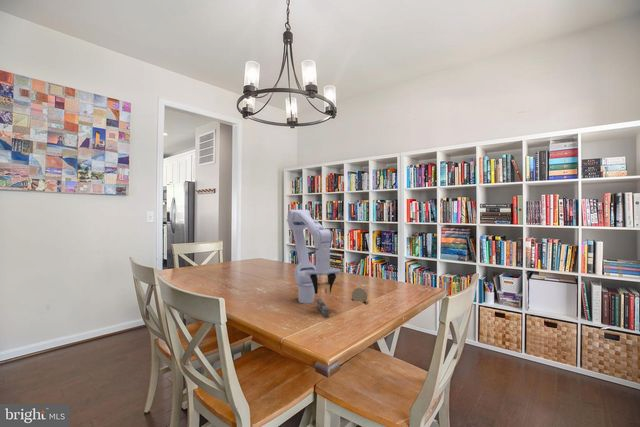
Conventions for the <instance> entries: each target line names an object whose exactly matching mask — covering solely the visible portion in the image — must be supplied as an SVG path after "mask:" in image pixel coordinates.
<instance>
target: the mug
mask: <svg viewBox="0 0 640 427" xmlns="http://www.w3.org/2000/svg"><path fill="white" fill-rule="evenodd" d="M351 299H352V300H353V301H354V302H361V303H362V304H364V303H365V302H366V301H367V299H368V291H366V289H365V288H362V287H356V288H354V289H353V291H352V292H351Z"/></svg>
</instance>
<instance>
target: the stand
mask: <svg viewBox="0 0 640 427" xmlns="http://www.w3.org/2000/svg"><path fill="white" fill-rule="evenodd" d="M316 300H317V301H316V306H317V308H318V309H319V311H320V312H321V314H322V316H323V318H324V319H330V310H329V308H328V306H327V305H326V304H325V303H324V302H323V300H322V299H321V298H317V299H316Z"/></svg>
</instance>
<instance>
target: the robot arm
mask: <svg viewBox="0 0 640 427" xmlns="http://www.w3.org/2000/svg"><path fill="white" fill-rule="evenodd" d="M286 217H287V223H288V228H289V229H290V230H291V231H292V235H293V240H294V245H295V250H296V256H297V261H298V264H297V265H296V266H295V268H294V270H293V271H294V275H293V276H294V277H293V278H294V282H295V283H296V285H297V286H298V292H297V293H298V294H297V298H298V303H301V304H312V303H314V302H315V294H316V295H317V291H318V290H317V283H319V282H318V281H319V276H324V275H325V276H327V282H328V283H329V284H330V294H331V293H332V288H333V285H334V283H335V280H336V279H337V275H341V273H342V272H341V271H342V270H341V269H340V268H331V266H330V265H331V260H330V258H331V255H330V254H331V250H330V249H331V243H332V242H333V237H334V235H333V232H332V230H331V229H330V228H325V227H324V226H323V225H322V224H321V223H320V222H319V221H318V220H314V219H313V218H312V216H311V211H310V210H309V209H291V208H290V209H289V210H288V211H287V216H286ZM305 229H307V231H308V232H309V234H310V235H311V236H312V240H313V246H314V248H315V264H314V263H312V262H311V261H310V258H309V254H308V247H307V243H306V238H305V234H304V230H305Z"/></svg>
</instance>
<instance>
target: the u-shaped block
mask: <svg viewBox="0 0 640 427" xmlns="http://www.w3.org/2000/svg"><path fill="white" fill-rule="evenodd" d="M322 289H324V294H325V295H326V296H330V295H331V293H330V284H329V283H328V281H327V282H324V281H323V282H317V290H318V291H317V294H316V296H317V297H322Z"/></svg>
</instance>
